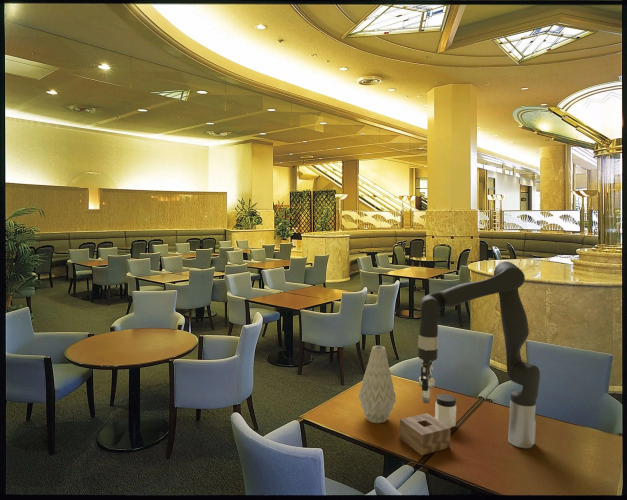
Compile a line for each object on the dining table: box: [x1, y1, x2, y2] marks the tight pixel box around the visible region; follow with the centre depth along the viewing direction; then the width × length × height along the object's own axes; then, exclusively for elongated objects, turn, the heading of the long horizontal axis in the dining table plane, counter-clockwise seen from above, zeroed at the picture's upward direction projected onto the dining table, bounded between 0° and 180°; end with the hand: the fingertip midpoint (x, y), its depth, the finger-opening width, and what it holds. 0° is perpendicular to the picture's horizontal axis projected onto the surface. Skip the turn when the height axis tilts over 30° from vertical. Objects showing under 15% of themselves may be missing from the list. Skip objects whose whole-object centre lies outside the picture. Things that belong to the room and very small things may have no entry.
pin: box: [418, 376, 436, 404], centre depth 176 cm, size 6×6×10 cm
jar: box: [434, 393, 457, 429], centre depth 194 cm, size 9×8×12 cm
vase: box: [358, 345, 397, 424], centre depth 197 cm, size 17×17×33 cm
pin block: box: [399, 412, 452, 456], centre depth 178 cm, size 14×14×8 cm
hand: (426, 387), depth 176 cm, fingers closed on pin, 6 cm apart
